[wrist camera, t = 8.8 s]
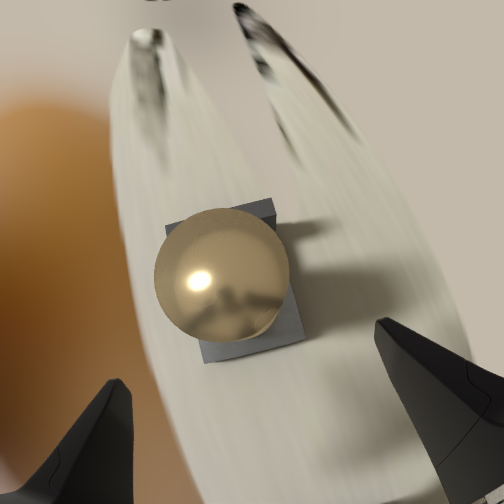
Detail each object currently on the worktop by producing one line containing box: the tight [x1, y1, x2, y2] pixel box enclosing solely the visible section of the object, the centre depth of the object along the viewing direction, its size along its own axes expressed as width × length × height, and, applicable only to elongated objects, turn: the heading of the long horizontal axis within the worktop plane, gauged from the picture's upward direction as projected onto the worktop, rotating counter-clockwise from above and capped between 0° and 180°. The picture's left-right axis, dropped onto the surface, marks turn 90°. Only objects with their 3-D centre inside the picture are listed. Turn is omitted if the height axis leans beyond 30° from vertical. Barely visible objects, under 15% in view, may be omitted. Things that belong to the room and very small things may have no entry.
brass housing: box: [154, 208, 290, 343], centre depth 15 cm, size 5×5×10 cm
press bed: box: [165, 198, 306, 364], centre depth 19 cm, size 9×7×4 cm
